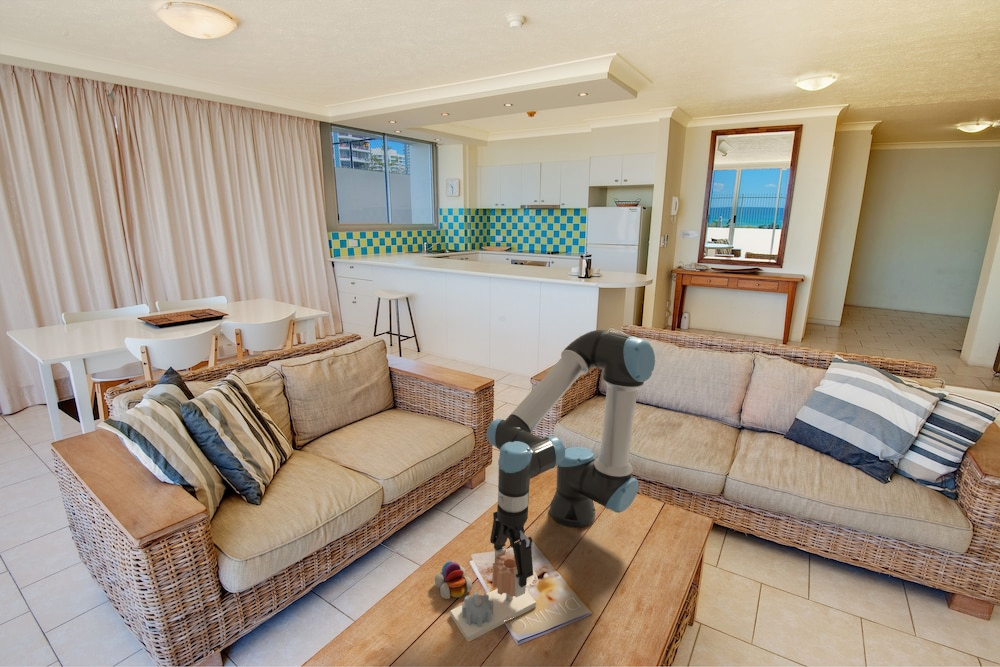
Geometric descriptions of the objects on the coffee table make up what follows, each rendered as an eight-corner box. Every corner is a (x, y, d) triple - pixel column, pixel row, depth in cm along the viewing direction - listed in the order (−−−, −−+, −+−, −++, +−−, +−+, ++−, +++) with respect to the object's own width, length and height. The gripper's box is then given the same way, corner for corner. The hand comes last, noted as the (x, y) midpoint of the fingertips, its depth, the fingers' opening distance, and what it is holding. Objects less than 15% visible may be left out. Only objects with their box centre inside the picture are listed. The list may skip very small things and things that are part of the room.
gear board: (450, 615, 119) (450, 595, 118) (516, 584, 130) (516, 565, 128) (467, 642, 112) (468, 621, 111) (535, 606, 123) (536, 587, 121)
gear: (486, 579, 123) (487, 559, 121) (513, 567, 127) (514, 548, 126) (504, 601, 116) (505, 580, 115) (532, 588, 121) (533, 567, 119)
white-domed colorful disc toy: (444, 606, 122) (444, 583, 120) (432, 581, 130) (431, 558, 129) (475, 595, 126) (475, 572, 124) (460, 571, 134) (460, 549, 132)
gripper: (477, 487, 123) (476, 562, 128) (525, 534, 106) (521, 618, 111) (502, 479, 127) (499, 552, 132) (552, 523, 110) (546, 604, 115)
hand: (509, 582), depth 122 cm, fingers closed on gear, 8 cm apart
